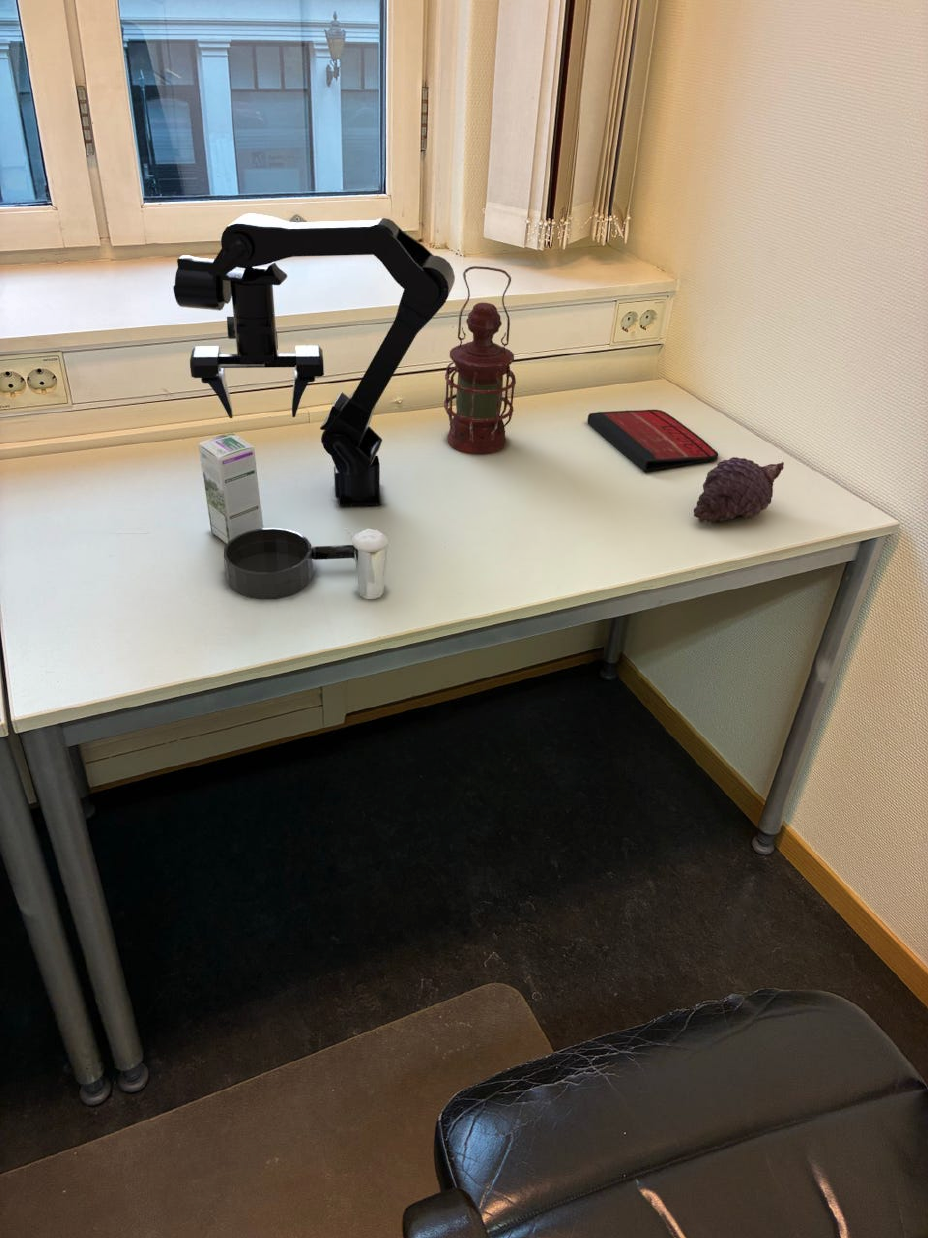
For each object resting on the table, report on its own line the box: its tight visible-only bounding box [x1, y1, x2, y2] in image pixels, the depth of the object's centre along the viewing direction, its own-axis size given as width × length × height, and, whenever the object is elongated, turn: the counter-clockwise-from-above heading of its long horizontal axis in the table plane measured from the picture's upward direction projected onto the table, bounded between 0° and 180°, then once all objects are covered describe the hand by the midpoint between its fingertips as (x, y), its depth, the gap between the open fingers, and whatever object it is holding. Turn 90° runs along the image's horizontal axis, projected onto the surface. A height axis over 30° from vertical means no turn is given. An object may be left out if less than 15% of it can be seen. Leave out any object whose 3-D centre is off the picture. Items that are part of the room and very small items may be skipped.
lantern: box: [443, 265, 517, 455], centre depth 154 cm, size 12×12×30 cm
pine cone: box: [693, 456, 785, 523], centre depth 144 cm, size 18×10×10 cm
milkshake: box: [345, 527, 389, 600], centre depth 120 cm, size 4×5×10 cm
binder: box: [586, 409, 719, 473], centre depth 166 cm, size 16×2×21 cm
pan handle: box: [312, 544, 355, 561], centre depth 125 cm, size 10×2×2 cm, turn 99°
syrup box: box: [198, 432, 264, 545], centre depth 129 cm, size 6×6×14 cm
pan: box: [222, 527, 314, 600], centre depth 125 cm, size 12×12×4 cm
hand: (262, 416), depth 139 cm, fingers open, 9 cm apart
